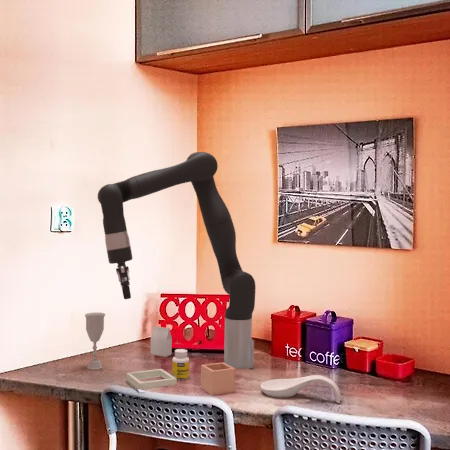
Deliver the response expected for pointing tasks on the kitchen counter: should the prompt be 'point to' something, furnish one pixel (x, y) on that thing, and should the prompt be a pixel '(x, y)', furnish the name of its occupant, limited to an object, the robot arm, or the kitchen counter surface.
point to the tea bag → (161, 342)
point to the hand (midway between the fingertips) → (127, 297)
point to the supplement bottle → (180, 365)
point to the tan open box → (217, 378)
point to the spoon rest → (296, 386)
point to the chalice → (94, 334)
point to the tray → (134, 376)
